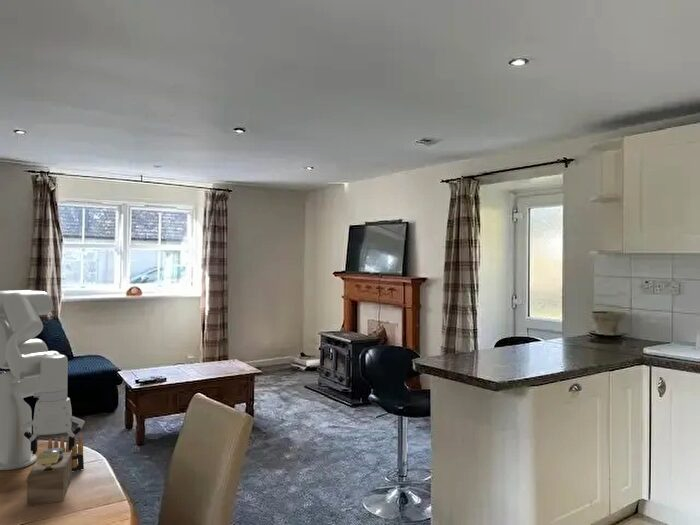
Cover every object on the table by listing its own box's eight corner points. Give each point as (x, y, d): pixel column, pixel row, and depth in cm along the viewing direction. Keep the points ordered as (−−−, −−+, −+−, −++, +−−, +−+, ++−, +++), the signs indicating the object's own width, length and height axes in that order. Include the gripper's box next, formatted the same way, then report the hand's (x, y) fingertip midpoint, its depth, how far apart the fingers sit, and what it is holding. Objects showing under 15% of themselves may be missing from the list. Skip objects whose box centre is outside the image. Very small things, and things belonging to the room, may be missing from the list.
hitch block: (39, 480, 164) (39, 455, 164) (71, 476, 167) (71, 451, 167) (27, 506, 147) (27, 477, 147) (63, 500, 150) (63, 473, 150)
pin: (41, 486, 157) (41, 455, 157) (44, 479, 162) (44, 449, 162) (61, 484, 159) (61, 452, 159) (64, 477, 164) (64, 447, 164)
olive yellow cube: (40, 468, 154) (40, 453, 154) (59, 466, 156) (59, 451, 156) (36, 475, 149) (36, 459, 149) (56, 472, 151) (56, 457, 151)
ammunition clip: (46, 477, 167) (46, 439, 167) (46, 475, 168) (46, 437, 168) (83, 469, 173) (84, 433, 173) (83, 467, 174) (83, 431, 174)
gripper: (17, 401, 154) (17, 458, 154) (83, 396, 160) (82, 451, 160) (23, 394, 161) (23, 450, 161) (86, 390, 167) (85, 443, 167)
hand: (52, 450), depth 161 cm, fingers open, 9 cm apart
